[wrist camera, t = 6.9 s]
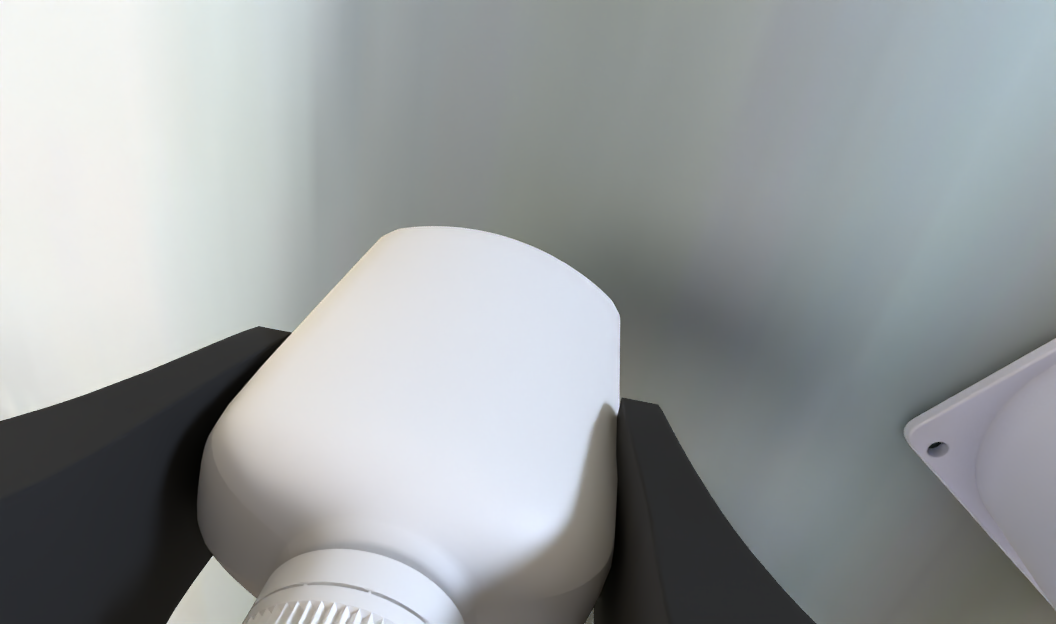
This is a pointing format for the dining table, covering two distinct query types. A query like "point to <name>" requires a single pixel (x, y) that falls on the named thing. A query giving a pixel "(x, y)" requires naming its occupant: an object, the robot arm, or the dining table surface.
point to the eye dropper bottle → (426, 444)
